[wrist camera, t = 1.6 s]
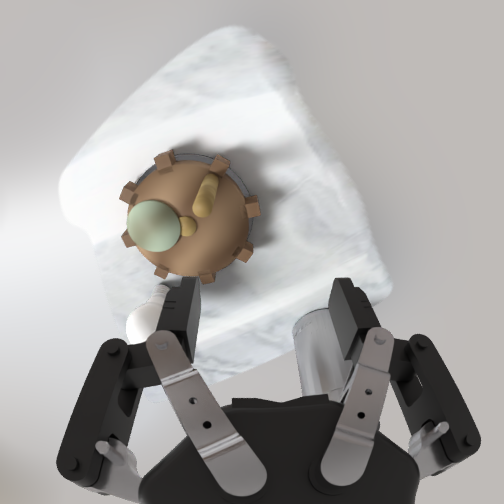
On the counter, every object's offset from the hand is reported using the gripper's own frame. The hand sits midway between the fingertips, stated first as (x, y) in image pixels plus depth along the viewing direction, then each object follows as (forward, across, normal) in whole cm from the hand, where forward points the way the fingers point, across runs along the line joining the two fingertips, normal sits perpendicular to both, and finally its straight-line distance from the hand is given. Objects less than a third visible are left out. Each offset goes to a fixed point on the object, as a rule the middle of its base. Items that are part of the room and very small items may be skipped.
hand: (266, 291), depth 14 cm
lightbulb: (+20, +12, +17) cm, 29 cm away
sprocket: (+20, +7, +5) cm, 22 cm away
